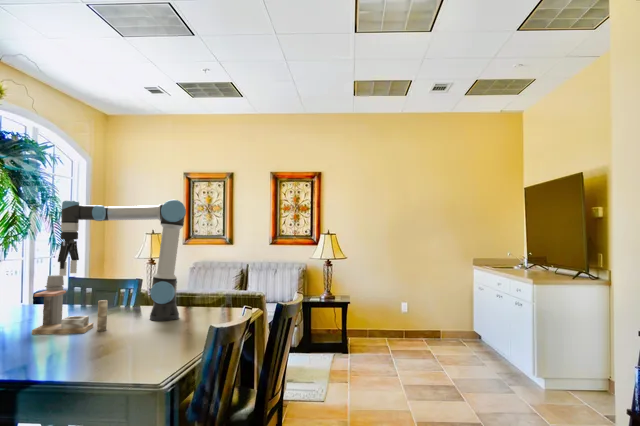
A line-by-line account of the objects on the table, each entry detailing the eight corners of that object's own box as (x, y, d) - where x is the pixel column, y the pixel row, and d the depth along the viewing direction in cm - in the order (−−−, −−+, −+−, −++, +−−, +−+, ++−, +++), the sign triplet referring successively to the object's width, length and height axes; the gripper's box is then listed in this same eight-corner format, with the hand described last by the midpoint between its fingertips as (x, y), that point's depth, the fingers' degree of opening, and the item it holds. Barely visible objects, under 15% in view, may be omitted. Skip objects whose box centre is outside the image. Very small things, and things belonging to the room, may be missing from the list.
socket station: (93, 327, 212) (94, 290, 213) (84, 332, 199) (86, 293, 200) (43, 328, 207) (45, 290, 208) (31, 334, 195) (33, 294, 196)
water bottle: (65, 325, 216) (67, 275, 217) (54, 328, 208) (56, 276, 209) (48, 324, 216) (51, 274, 218) (36, 327, 209) (39, 276, 210)
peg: (107, 329, 208) (108, 300, 208) (105, 330, 204) (106, 301, 205) (98, 329, 207) (99, 300, 208) (95, 331, 203) (97, 301, 204)
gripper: (70, 231, 225) (69, 272, 224) (50, 231, 201) (49, 276, 200) (86, 231, 227) (85, 272, 226) (68, 231, 202) (66, 276, 201)
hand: (68, 274), depth 213 cm, fingers open, 13 cm apart
